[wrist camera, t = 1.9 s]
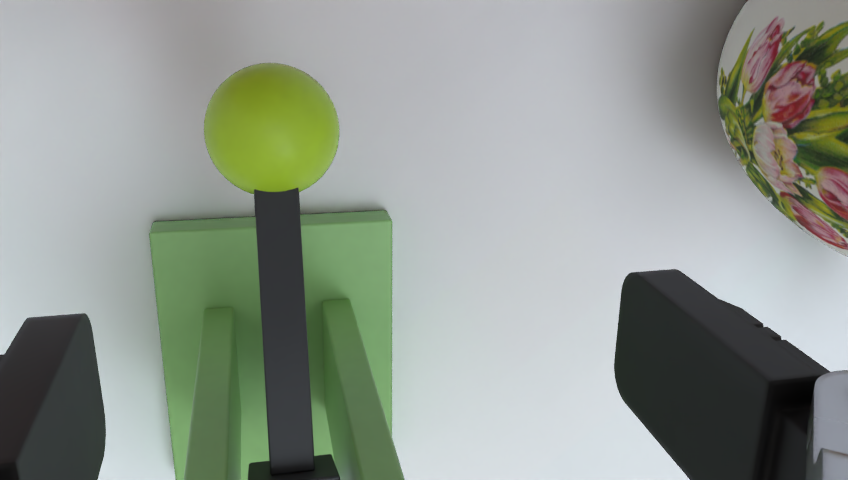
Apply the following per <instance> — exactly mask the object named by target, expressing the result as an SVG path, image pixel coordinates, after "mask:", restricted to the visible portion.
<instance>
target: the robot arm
mask: <svg viewBox="0 0 848 480" xmlns="http://www.w3.org/2000/svg"><path fill="white" fill-rule="evenodd" d="M614 370H615V379H616V383H617V387H618V390H619V393H620V395H621V397H622V399H623V401H624V402H625V403H626V404H627V406H628V407H629V408H630V409H631V410H632V412H633V413H634V414H635V415H636V416H637V417H638V419H639V420H640V421H641V422H642V423H643V425H644V426H645V427H646V428H647V429H648V430H649V432H650V433H651V434H652V435H653V436H654V438H655V439H656V440H657V441H658V442H659V443H660V445H661V446H662V447H663V448H664V449H665V451H666V452H667V453H668V454H669V455H670V456H671V458H672V459H673V460H674V461H675V462H676V464H677V465H678V466H679V467H680V468H681V469H682V471H683V472H684V473H685V474H686V475H687V477H688V478H689V479H690V480H848V370H843V371H834V372H830V371H828V370H827V369H826V368H824V367H823V366H821V365H820V364H819V363H817V362H816V361H814V360H813V359H812V358H810V357H809V356H807V355H806V354H805V353H803V352H802V351H800V350H799V349H798V348H796V347H795V346H793V345H792V344H791V343H789V342H788V341H786V340H781V336H779V335H778V334H777V333H775V332H774V331H772V330H771V329H770V328H768V327H763V323H761V322H760V321H758V320H757V319H756V318H754V317H753V316H751V315H750V314H749V313H747V312H746V311H744V310H743V309H742V308H739V307H737V306H734V305H732V304H730V303H727V302H725V301H722V300H720V299H718V298H716V297H715V296H714V295H712V294H711V293H709V292H708V291H707V290H705V289H704V288H703V287H701V286H700V285H698V284H697V283H696V282H694V281H693V280H692V279H690V278H689V277H688V276H686V275H685V274H683V273H682V272H681V271H679V270H676V269H672V270H659V271H646V272H633V273H630V274H628V275H627V277H626V278H625V280H624V283H623V286H622V292H621V302H620V312H619V322H618V332H617V342H616V352H615V363H614ZM105 437H106V427H105V414H104V406H103V400H102V393H101V386H100V379H99V373H98V366H97V359H96V352H95V346H94V339H93V332H92V327H91V323H90V320H89V318H88V316H87V315H86V314H84V313H83V314H70V315H57V316H44V317H31V318H27V319H26V320H25V321H24V323H23V325H22V326H21V328H20V330H19V331H18V333H17V335H16V336H15V338H14V340H13V341H12V343H11V345H10V346H9V348H8V350H7V351H6V353H5V355H0V480H97V479H98V475H99V472H100V468H101V464H102V461H103V457H104V451H105Z"/></svg>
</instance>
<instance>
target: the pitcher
mask: <svg viewBox="0 0 848 480" xmlns="http://www.w3.org/2000/svg"><path fill="white" fill-rule="evenodd" d="M717 101H718V110H719V114H720V118H721V122H722V125H723V129H724V133H725V135H726V138H727V140H728V142H729V145H730V147H731V149H732V151H733V152H734V154H735V156H736V158H737V159H738V161H739V163H740V164H741V166H742V168H743V169H744V171H745V172H746V174H747V175H748V176H749V178H750V179H751V180H752V182H753V183H754V184H755V185H756V187H757V188H758V189H759V190H760V191H761V193H762V194H763V195H764V196H765V197H766V198H767V199H768V200H769V201H770V202H771V203H772V204H773V205H774V207H775V208H777V209H778V210H779V211H780V212H781V213H782V214H784V215H785V216H786V217H787V218H788V219H790V220H791V221H792V222H793V223H795V224H796V225H797V226H798V227H799V228H801V229H802V230H803V231H805V232H806V233H808V234H809V235H811V236H812V237H814V238H815V239H817V240H818V241H820V242H822V243H823V244H825V245H827V246H828V247H830V248H832V249H833V250H835V251H837V252H839V253H841V254H843V255H845V256H846V257H848V0H748V1H747V2H746V3H745V4H744V6H743V8H742V9H741V11H740V12H739V14H738V16H737V17H736V19H735V21H734V23H733V25H732V27H731V29H730V31H729V33H728V36H727V39H726V41H725V44H724V47H723V50H722V54H721V58H720V62H719V68H718V76H717Z"/></svg>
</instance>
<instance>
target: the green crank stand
mask: <svg viewBox="0 0 848 480" xmlns="http://www.w3.org/2000/svg"><path fill="white" fill-rule="evenodd" d="M300 220H301V237H302V254H303V271H304V288H305V305H306V322H307V339H308V356H309V373H310V390H311V407H312V424H313V441H314V456H317V455H326V454H331V455H332V457H333V460H334V462H335V465H336V468H337V470H338V473H339V476H340V480H404V477H403V473H402V470H401V467H400V463H399V460H398V457H397V453H396V450H395V447H394V443H393V440H392V220H391V218H390V216H389V215H388V213H387V211H385V210H383V211H362V212H342V213H321V214H301V215H300ZM149 238H150V247H151V257H152V266H153V275H154V284H155V294H156V303H157V312H158V321H159V330H160V340H161V349H162V358H163V367H164V377H165V386H166V395H167V404H168V414H169V423H170V432H171V441H172V451H173V460H174V469H175V478H176V480H248V469H249V464H250V463H253V462H262V461H269V445H268V427H267V410H266V392H265V375H264V357H263V339H262V322H261V304H260V287H259V269H258V252H257V234H256V217H240V218H220V219H199V220H179V221H158V222H153V224H152V227H151V230H150V233H149Z"/></svg>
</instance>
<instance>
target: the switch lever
mask: <svg viewBox="0 0 848 480" xmlns="http://www.w3.org/2000/svg"><path fill="white" fill-rule="evenodd" d="M204 136H205V143H206V147H207V150H208V153H209V155H210V157H211V159H212V161H213V163H214V165H215V166H216V168H217V169H218V170H219V172H220V173H221V174H222V175H223V176H224V177H225V178H226V179H227V180H228V181H230V182H231V183H232V184H234V185H235V186H237V187H238V188H240V189H242V190H244V191H246V192H248V193H251V194H254V199H255V217H256V234H257V252H258V269H259V287H260V304H261V322H262V339H263V357H264V375H265V392H266V410H267V427H268V445H269V461H262V462H253V463H250V464H249V469H248V480H340V476H339V473H338V470H337V468H336V465H335V462H334V460H333V457H332V455H331V454H326V455H317V456H314V441H313V424H312V407H311V390H310V373H309V356H308V339H307V322H306V305H305V288H304V271H303V254H302V237H301V220H300V203H299V192H300V191H303V190H304V189H306V188H308V187H310V186H311V185H312V184H314V183H315V182H317V181H318V180H319V179H320V178H321V177H322V176H323V175H324V173H325V172H326V171H327V170H328V168H329V166H330V165H331V163H332V161H333V159H334V156H335V154H336V151H337V147H338V141H339V122H338V117H337V113H336V110H335V107H334V105H333V102H332V101H331V99H330V97H329V95H328V94H327V93H326V91H325V90H324V89H323V87H322V86H321V85H320V84H319V83H318V82H317V81H316V80H315V79H313V78H312V77H311V76H310V75H308V74H306V73H305V72H303V71H301V70H299V69H297V68H295V67H291V66H288V65H284V64H278V63H262V64H256V65H252V66H249V67H246V68H243V69H241V70H239V71H237V72H235V73H234V74H233V75H231V76H230V77H228V78H227V79H226V80H225V81H224V82H223V83H222V84H221V85H220V86H219V87H218V89H217V90H216V91H215V93H214V94H213V96H212V98H211V100H210V102H209V104H208V107H207V110H206V114H205V120H204Z"/></svg>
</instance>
